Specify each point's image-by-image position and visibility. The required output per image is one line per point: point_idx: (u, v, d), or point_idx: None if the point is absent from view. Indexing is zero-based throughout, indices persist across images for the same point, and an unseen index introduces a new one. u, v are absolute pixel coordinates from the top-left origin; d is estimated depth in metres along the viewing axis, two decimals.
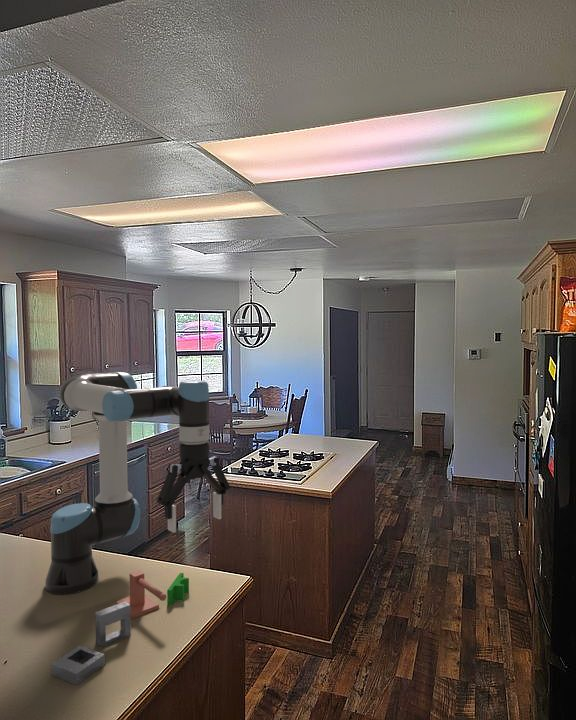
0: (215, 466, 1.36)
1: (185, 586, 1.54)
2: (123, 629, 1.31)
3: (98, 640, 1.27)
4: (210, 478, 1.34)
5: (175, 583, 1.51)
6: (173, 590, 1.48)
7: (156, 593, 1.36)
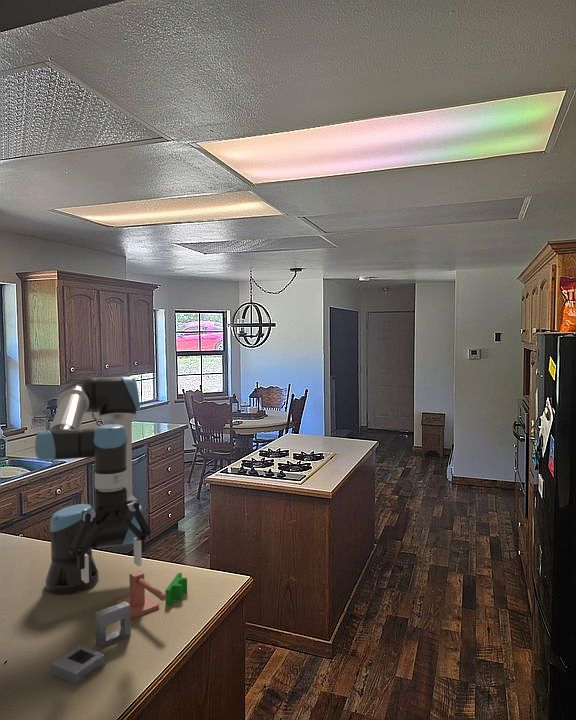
0: (134, 512, 1.32)
1: (183, 586, 1.54)
2: (123, 629, 1.31)
3: (98, 640, 1.27)
4: (128, 524, 1.31)
5: (173, 583, 1.51)
6: (171, 590, 1.48)
7: (156, 593, 1.36)
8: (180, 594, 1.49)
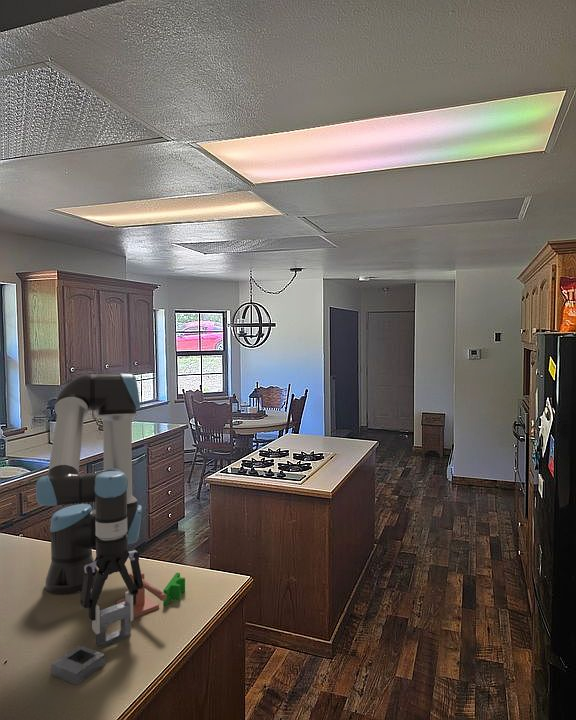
0: (133, 561, 1.32)
1: (181, 586, 1.54)
2: (123, 629, 1.31)
3: (98, 640, 1.27)
4: (125, 575, 1.30)
5: (171, 583, 1.51)
6: (169, 590, 1.48)
7: (156, 593, 1.36)
8: (178, 594, 1.50)
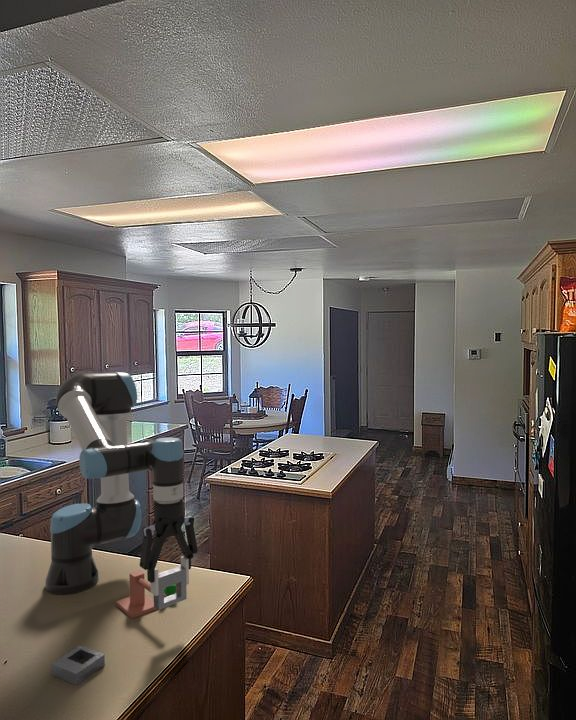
0: (188, 526, 1.35)
1: None
2: (179, 592, 1.34)
3: (157, 602, 1.29)
4: (181, 539, 1.33)
5: None
6: (165, 590, 1.49)
7: None
8: None
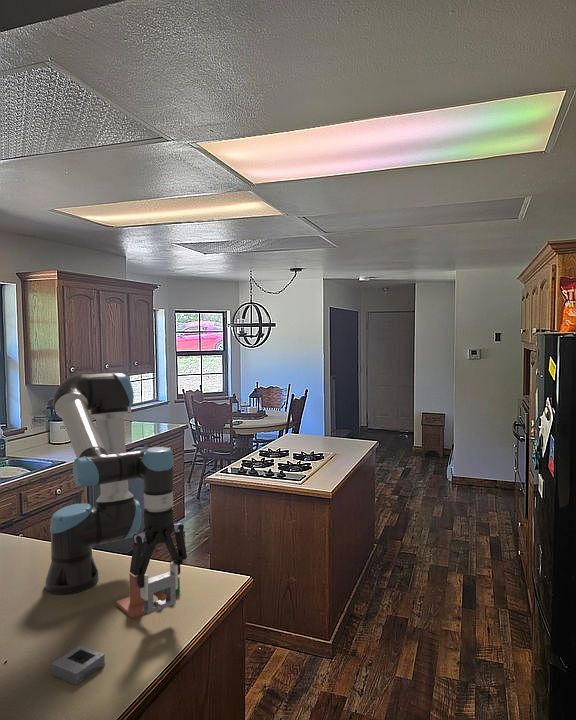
0: (178, 533, 1.39)
1: None
2: (169, 597, 1.38)
3: (146, 606, 1.34)
4: (171, 545, 1.37)
5: None
6: (163, 590, 1.49)
7: (156, 593, 1.36)
8: None
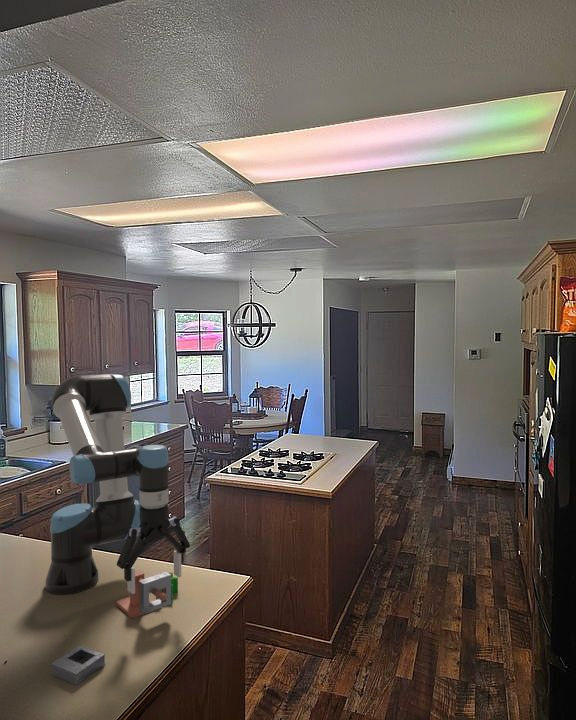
0: (175, 526, 1.41)
1: (174, 586, 1.54)
2: None
3: (142, 607, 1.35)
4: (170, 538, 1.40)
5: None
6: (161, 590, 1.49)
7: (156, 593, 1.36)
8: (171, 594, 1.50)
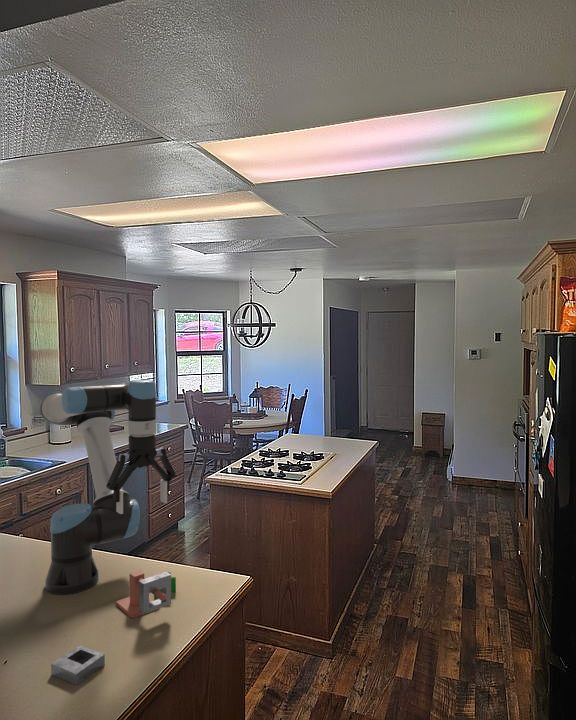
0: (162, 456, 1.52)
1: (172, 585, 1.54)
2: None
3: (142, 607, 1.35)
4: (156, 467, 1.50)
5: None
6: None
7: (156, 593, 1.36)
8: None
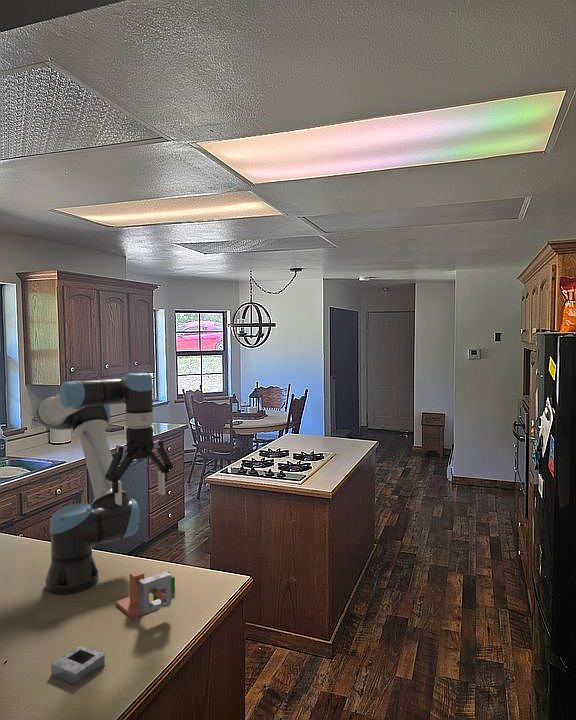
0: (159, 448, 1.55)
1: (171, 585, 1.54)
2: None
3: (142, 607, 1.35)
4: (154, 459, 1.53)
5: None
6: None
7: (156, 593, 1.36)
8: None
